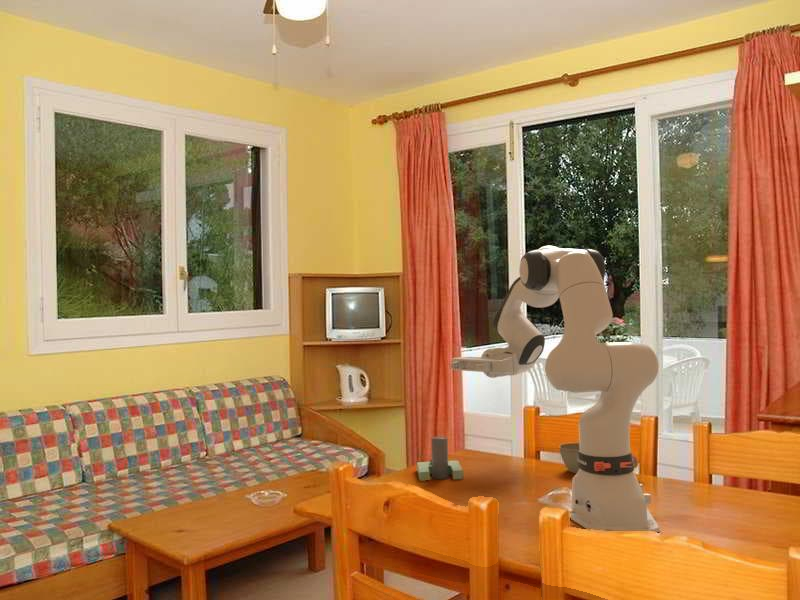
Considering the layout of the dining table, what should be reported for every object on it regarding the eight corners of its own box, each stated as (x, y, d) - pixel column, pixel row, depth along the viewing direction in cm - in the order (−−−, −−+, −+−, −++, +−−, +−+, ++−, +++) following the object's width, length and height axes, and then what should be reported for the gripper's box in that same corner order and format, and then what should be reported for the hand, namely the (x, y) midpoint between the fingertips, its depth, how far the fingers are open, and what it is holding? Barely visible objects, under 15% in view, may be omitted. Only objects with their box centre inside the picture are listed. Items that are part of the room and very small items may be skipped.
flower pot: (592, 466, 208) (592, 442, 208) (598, 475, 198) (598, 449, 198) (557, 467, 209) (557, 442, 209) (562, 475, 199) (561, 449, 199)
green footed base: (463, 478, 200) (462, 466, 200) (420, 480, 199) (419, 467, 199) (457, 468, 212) (457, 456, 212) (417, 470, 211) (416, 458, 211)
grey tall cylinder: (449, 478, 200) (448, 439, 200) (433, 479, 200) (431, 440, 200) (447, 474, 205) (446, 436, 205) (431, 475, 204) (430, 437, 204)
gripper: (468, 351, 227) (438, 354, 217) (520, 353, 212) (489, 357, 202) (469, 371, 227) (438, 375, 217) (521, 375, 212) (490, 380, 202)
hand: (463, 367), depth 210 cm, fingers open, 8 cm apart
